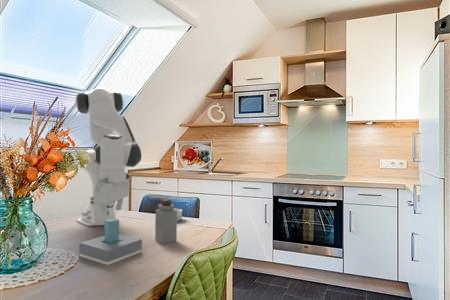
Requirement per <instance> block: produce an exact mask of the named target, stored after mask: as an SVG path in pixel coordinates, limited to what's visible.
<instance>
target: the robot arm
mask: <svg viewBox="0 0 450 300" xmlns="http://www.w3.org/2000/svg"><path fill="white" fill-rule="evenodd" d="M74 102H75V103H74V104H75V107H76V109H77V110H78V112H79V113H80V114H89V130H90V131H89V132H90V139H91V142H93V144H94V143H95V144H96V145H95V147H94V148H93V149H91V150H86V151H87V152H88V154H89V157H90V159H91V161H90V163H89V164H88V165H87V166H86V167H85V168H82V169H83V170H84V171H85V172H86V173H87V174H88V175H89V177H90V180H91V184H92V196H90V197H89V200H90V202H89V204H88V205H87V206H86V207H85V208H83V210H82V212H81V217H79V218H78V219H76V222H78V223H80V224H81V225H85V226H88V227H91V226H93V227H94V226H105V220H107V219H114V218H115V219H117V220H119V216H118V214H117V211H121V210H122V208H123V207H122V205H123V204H124V198H127V197H129V194H130V185H131V184H130V179H131V174H130V173H128V172H126V171H125V169H126V168H127V167H128V168H129V167H130V168H134V167H137V165H138V164H139V163H140V162H141V161H142V150H141V147H140V145H139V144H138V143H137V142H136V141H137V140H136V139H135V137H134V134H133V132H132V130H131V127H130V125H129V122H128V121H127V119H126V118H125V116H123V115H121V113H119V112H121V111H122V110H123V107H124V105H125V104H124V103H125V101H124V97H123V95H122V93H121V92H119V91H117V90H113V91H111V90H108V89H107V88H104V87H96V88H94V89H93V90H91V91H81V92H79V93H77V94H76V97H75V100H74ZM114 132H116V133H118V134H114Z"/></svg>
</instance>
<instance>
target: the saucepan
mask: <svg viewBox="0 0 450 300" xmlns="http://www.w3.org/2000/svg"><path fill="white" fill-rule="evenodd" d="M174 210H177V222H179V221H180V220H182V219H183V218H182V217H183V209H182V208H181V209H180V208H174Z"/></svg>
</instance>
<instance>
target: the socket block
mask: <svg viewBox="0 0 450 300" xmlns="http://www.w3.org/2000/svg"><path fill="white" fill-rule="evenodd" d="M104 241H105V235H103V236H99V237H95V238H91V239H88V240H84V241H81V242H79V257H81V258H84V259H87V260H90V261H93V262H97V263H100V264H103V265H106V266H108V265H111V264H112V265H113V264H114V263H117V262H119V261H122V260H124V259H125V260H126V259H127V258H130V257H132V256H134V255H138V254H140V253H143V238H138V237H135V236H131V235H125V234H120V233H119V242H116V243H112V244H108V243H104Z"/></svg>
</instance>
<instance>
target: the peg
mask: <svg viewBox="0 0 450 300" xmlns="http://www.w3.org/2000/svg"><path fill="white" fill-rule="evenodd" d="M119 234H120V220H119V219H118V220H117V219H115V218H114V219H107V220H105V225H104V236H105V241H104V243H108V244H112V243H116V242H119Z"/></svg>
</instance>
